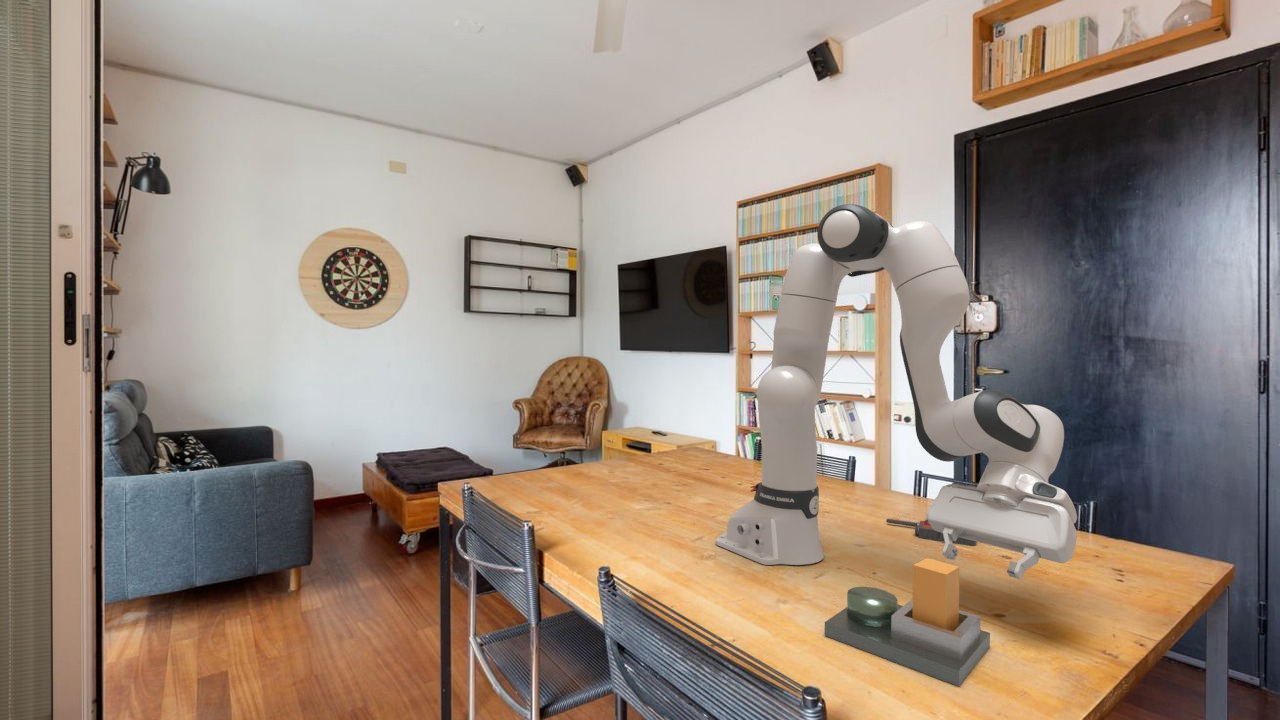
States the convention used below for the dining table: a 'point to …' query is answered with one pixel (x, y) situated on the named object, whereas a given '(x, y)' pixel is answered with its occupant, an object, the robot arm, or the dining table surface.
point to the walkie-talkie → (930, 532)
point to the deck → (908, 635)
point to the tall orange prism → (936, 593)
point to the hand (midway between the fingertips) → (979, 566)
